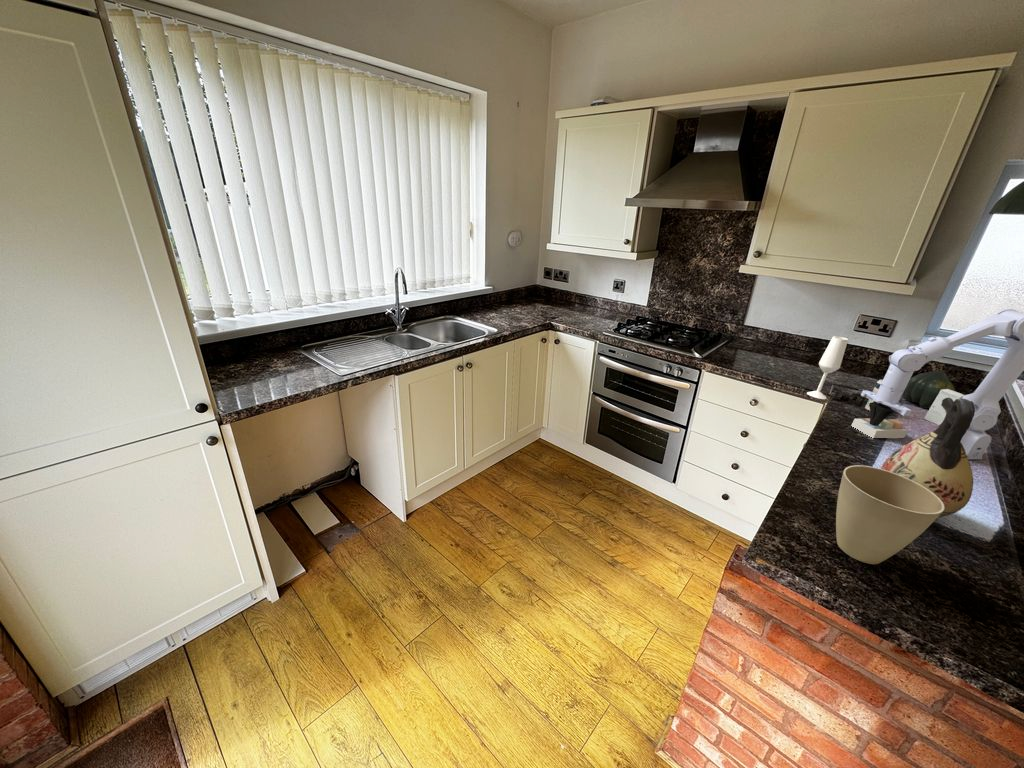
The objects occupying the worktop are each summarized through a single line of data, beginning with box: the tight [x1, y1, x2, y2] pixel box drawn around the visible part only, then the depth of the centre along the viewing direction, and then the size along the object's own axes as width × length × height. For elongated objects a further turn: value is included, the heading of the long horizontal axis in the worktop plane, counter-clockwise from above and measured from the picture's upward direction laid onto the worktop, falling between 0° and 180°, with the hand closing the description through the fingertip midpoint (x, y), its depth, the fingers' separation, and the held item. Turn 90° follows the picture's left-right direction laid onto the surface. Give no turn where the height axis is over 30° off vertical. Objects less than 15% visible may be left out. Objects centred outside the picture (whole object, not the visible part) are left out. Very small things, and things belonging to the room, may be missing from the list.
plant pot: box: [835, 464, 945, 565], centre depth 82 cm, size 15×15×16 cm
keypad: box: [850, 417, 909, 439], centre depth 137 cm, size 8×12×4 cm, turn 98°
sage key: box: [879, 418, 894, 429], centre depth 135 cm, size 3×3×2 cm
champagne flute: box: [806, 335, 849, 400], centre depth 160 cm, size 7×7×24 cm
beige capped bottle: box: [864, 378, 884, 412], centre depth 152 cm, size 5×5×12 cm
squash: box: [902, 370, 957, 409], centre depth 163 cm, size 14×15×15 cm
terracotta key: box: [887, 418, 905, 429], centre depth 136 cm, size 3×3×2 cm
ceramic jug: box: [879, 397, 975, 523], centre depth 93 cm, size 17×15×30 cm
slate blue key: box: [865, 423, 882, 429], centre depth 135 cm, size 3×3×2 cm
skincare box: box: [923, 389, 966, 426], centre depth 147 cm, size 6×4×12 cm
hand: (873, 425), depth 135 cm, fingers closed, pressing on slate blue key
